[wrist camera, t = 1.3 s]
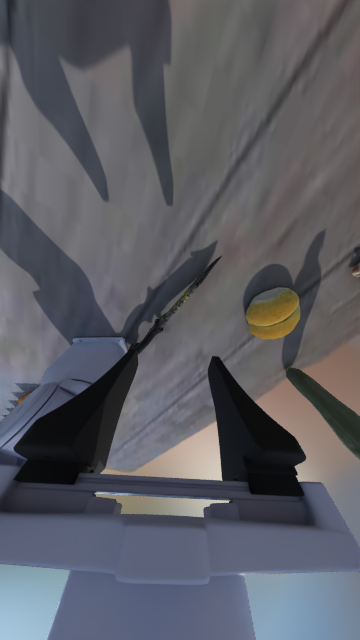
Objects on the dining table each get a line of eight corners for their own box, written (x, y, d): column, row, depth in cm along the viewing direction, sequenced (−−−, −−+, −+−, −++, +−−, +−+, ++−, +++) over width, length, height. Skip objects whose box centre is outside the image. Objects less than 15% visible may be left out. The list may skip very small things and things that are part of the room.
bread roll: (250, 338, 26) (262, 352, 22) (239, 301, 22) (251, 311, 18) (294, 322, 24) (314, 334, 21) (291, 278, 20) (315, 284, 17)
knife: (209, 252, 20) (222, 250, 16) (216, 260, 21) (230, 259, 16) (126, 350, 26) (118, 369, 21) (133, 354, 27) (127, 373, 22)
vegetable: (276, 365, 30) (420, 529, 12) (295, 355, 29) (485, 524, 11) (283, 374, 32) (417, 531, 14) (301, 366, 30) (474, 526, 13)
